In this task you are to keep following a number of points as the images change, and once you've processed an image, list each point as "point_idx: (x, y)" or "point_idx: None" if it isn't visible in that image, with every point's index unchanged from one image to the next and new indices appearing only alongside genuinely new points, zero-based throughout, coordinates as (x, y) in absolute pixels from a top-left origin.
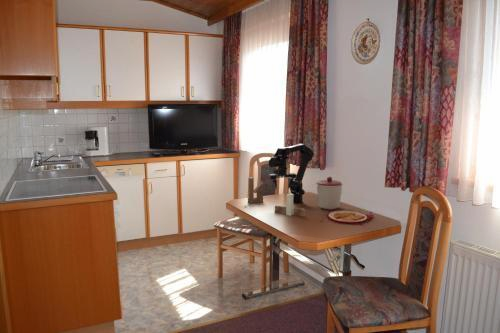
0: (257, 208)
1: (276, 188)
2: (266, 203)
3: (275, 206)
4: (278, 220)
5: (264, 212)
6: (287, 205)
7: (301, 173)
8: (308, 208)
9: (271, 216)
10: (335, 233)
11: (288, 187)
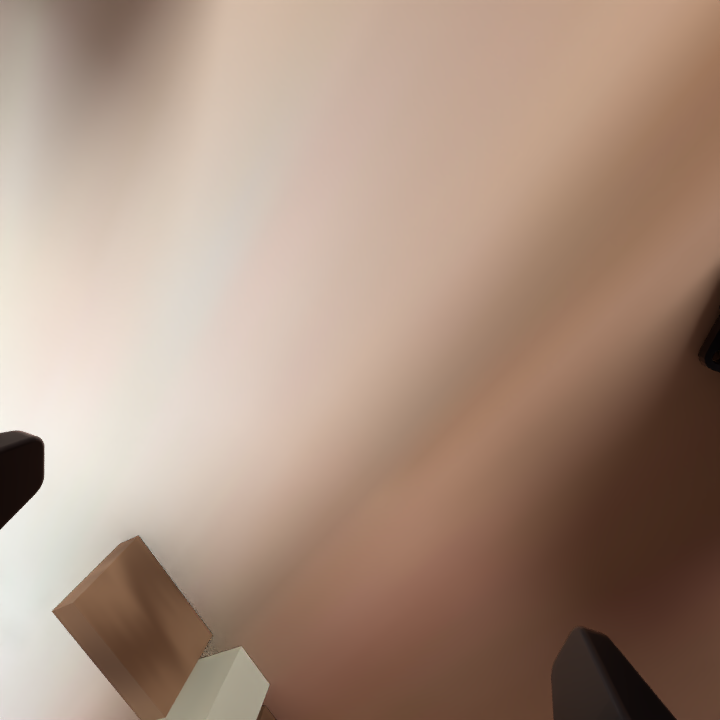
0: (3, 250)
1: (10, 517)
2: (255, 8)
3: (61, 615)
4: (53, 711)
5: None
6: None
7: None
8: None
9: (41, 605)
10: None
11: (561, 706)
